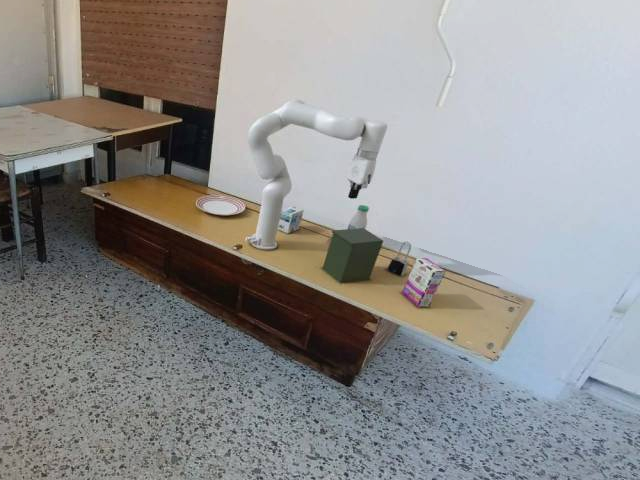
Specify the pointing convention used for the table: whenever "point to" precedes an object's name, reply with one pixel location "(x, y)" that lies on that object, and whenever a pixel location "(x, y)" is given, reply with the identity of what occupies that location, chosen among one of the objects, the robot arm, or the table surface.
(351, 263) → the bin
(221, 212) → the dinner plate
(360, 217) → the milk bottle
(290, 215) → the light bulb box
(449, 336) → the table surface
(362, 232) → the bin lid
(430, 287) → the candy bar box
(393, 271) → the padlock
